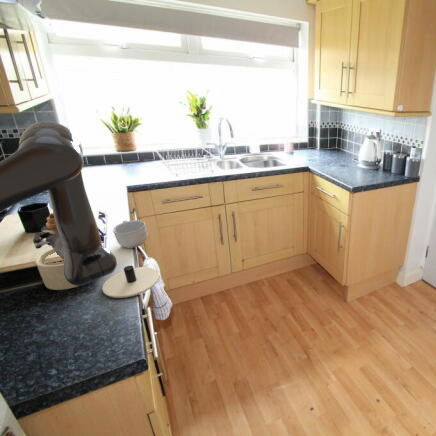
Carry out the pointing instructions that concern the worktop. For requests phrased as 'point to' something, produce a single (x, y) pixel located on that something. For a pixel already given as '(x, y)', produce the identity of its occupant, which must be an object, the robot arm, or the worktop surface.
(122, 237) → the teacup
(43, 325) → the worktop surface
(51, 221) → the pepper mill
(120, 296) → the pot lid
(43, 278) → the pot
